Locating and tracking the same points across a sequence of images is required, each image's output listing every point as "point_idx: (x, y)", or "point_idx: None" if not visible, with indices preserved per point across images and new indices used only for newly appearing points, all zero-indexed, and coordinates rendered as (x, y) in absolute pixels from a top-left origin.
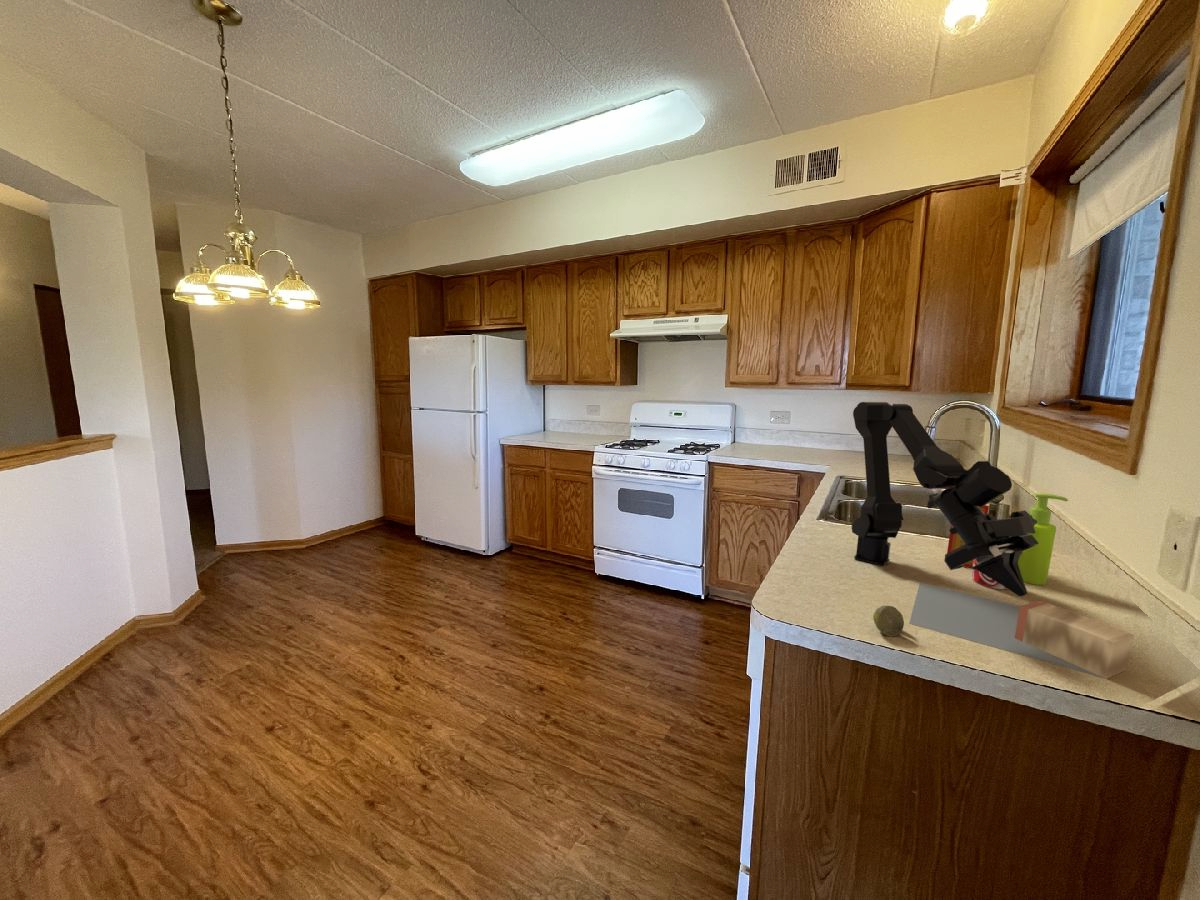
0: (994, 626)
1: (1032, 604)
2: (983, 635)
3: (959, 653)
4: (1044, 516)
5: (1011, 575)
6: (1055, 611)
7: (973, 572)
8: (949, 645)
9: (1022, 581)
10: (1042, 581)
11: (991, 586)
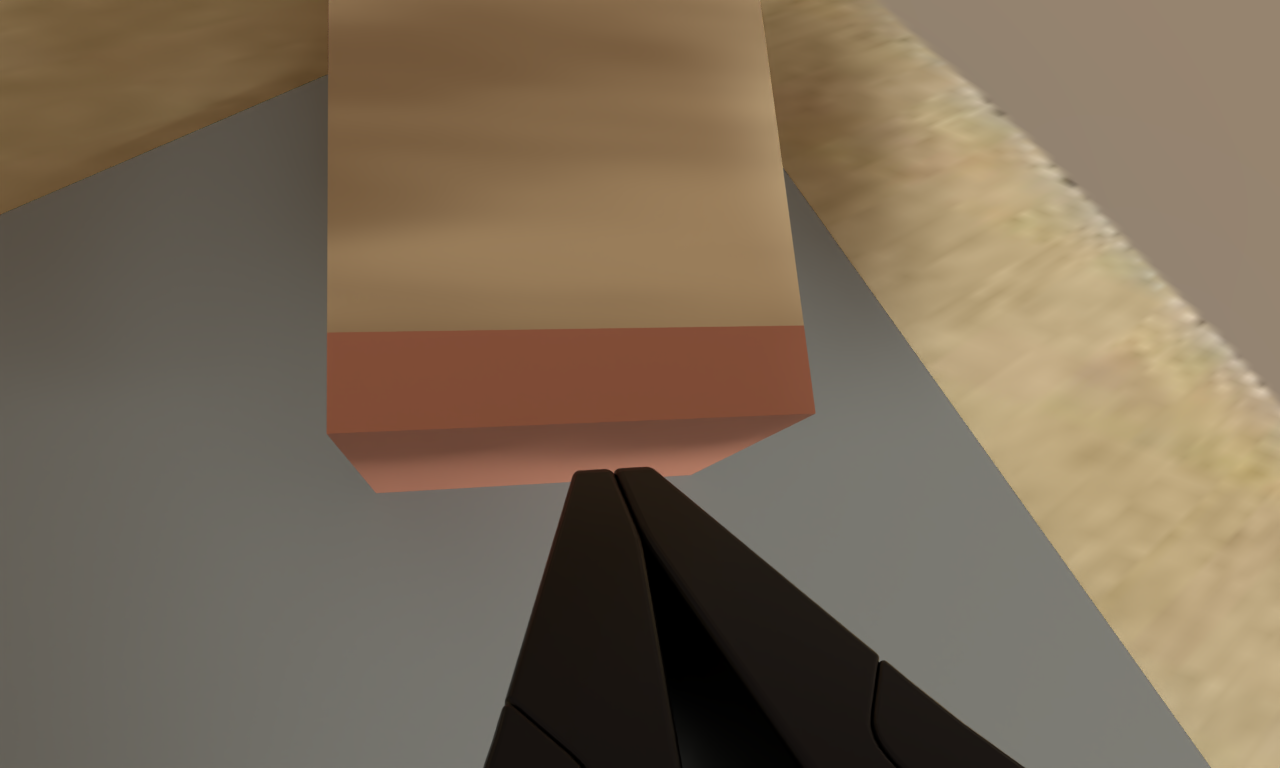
0: None
1: (599, 388)
2: (902, 585)
3: (1206, 497)
4: None
5: (897, 680)
6: (532, 171)
7: None
8: (1196, 593)
9: (581, 585)
10: None
11: None
